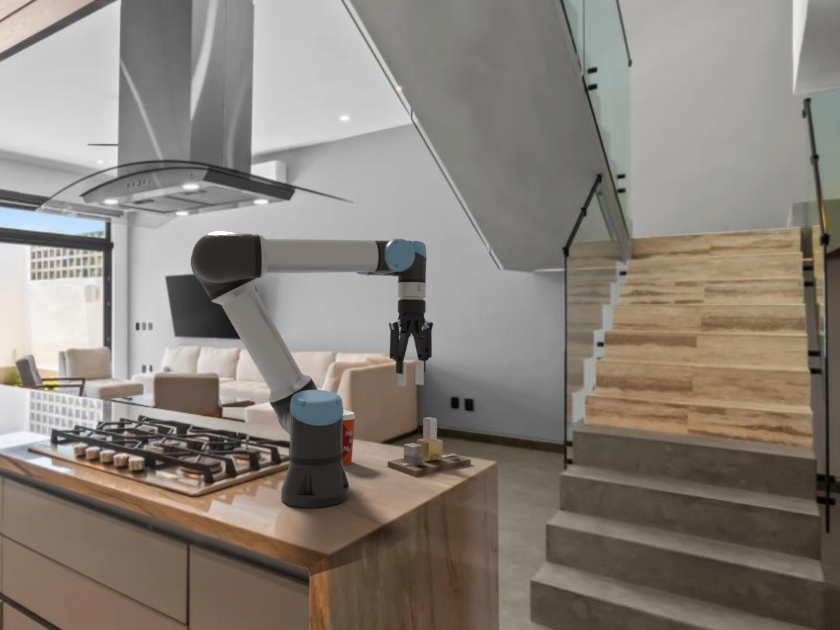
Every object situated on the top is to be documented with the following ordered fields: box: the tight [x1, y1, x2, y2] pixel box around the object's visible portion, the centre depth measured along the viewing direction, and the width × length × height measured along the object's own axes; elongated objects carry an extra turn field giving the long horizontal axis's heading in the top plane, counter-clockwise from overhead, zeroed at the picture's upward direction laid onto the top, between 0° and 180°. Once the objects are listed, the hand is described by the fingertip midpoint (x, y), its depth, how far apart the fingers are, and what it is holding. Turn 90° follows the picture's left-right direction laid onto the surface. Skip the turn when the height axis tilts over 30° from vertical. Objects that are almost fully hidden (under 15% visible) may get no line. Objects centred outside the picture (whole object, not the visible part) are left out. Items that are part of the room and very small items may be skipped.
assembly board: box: [387, 442, 472, 478], centre depth 152 cm, size 20×12×6 cm, turn 129°
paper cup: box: [342, 410, 357, 466], centre depth 154 cm, size 8×8×14 cm
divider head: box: [416, 416, 444, 462], centre depth 151 cm, size 5×7×11 cm
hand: (410, 385), depth 148 cm, fingers open, 5 cm apart
